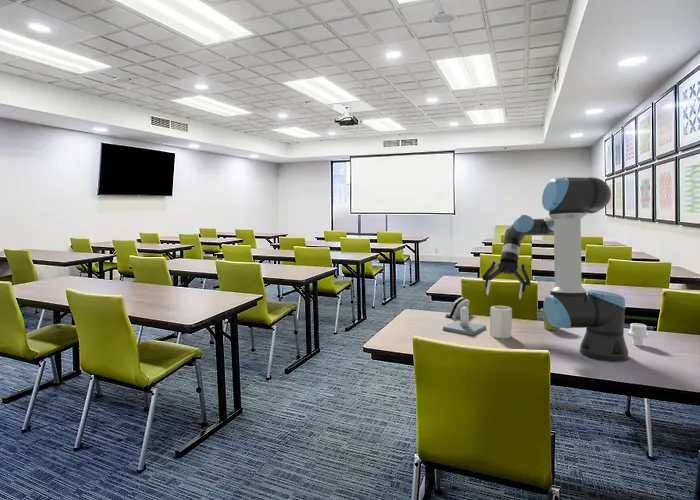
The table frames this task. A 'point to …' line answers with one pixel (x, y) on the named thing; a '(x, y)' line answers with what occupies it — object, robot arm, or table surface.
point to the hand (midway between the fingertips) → (503, 295)
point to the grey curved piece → (458, 307)
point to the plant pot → (548, 323)
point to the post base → (467, 330)
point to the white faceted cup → (500, 321)
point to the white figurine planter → (638, 333)
